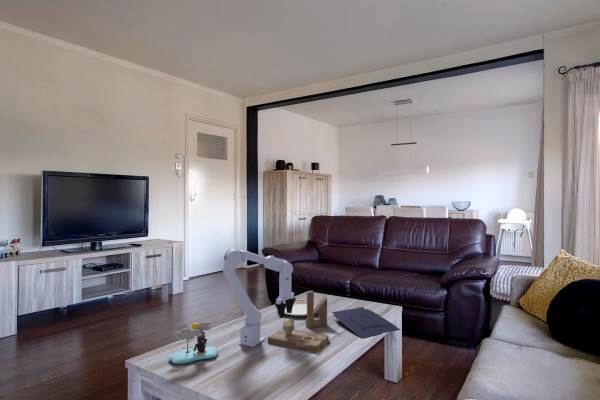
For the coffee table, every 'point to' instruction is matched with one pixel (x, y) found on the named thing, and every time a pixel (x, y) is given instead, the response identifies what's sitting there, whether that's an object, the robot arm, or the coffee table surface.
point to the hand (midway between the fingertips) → (285, 315)
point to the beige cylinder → (288, 326)
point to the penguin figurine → (189, 334)
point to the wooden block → (316, 311)
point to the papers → (364, 322)
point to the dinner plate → (300, 308)
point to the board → (299, 340)
